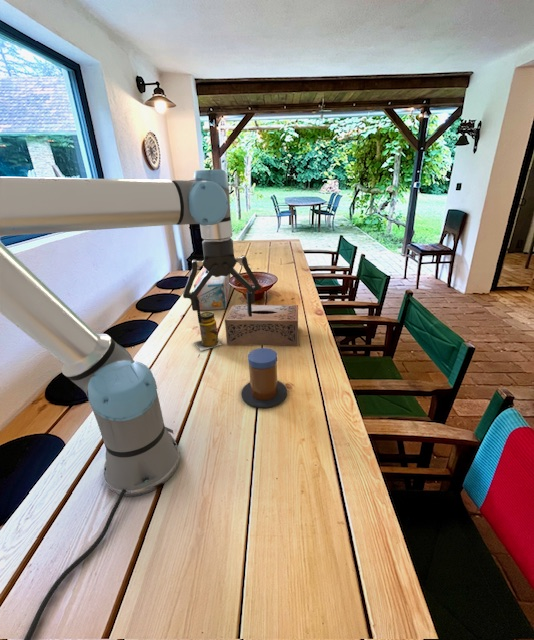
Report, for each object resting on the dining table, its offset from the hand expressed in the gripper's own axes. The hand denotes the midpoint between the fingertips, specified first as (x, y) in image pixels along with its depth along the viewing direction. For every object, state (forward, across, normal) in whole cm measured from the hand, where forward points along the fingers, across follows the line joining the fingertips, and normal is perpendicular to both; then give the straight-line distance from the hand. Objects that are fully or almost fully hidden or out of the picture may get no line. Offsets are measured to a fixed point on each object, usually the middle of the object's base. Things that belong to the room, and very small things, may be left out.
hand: (225, 317), depth 88 cm
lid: (+9, -8, +7) cm, 15 cm away
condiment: (+22, +6, -27) cm, 35 cm away
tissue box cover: (+22, -16, -27) cm, 38 cm away
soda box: (+22, -1, -79) cm, 82 cm away
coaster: (+22, -8, +8) cm, 24 cm away
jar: (+21, -8, +8) cm, 24 cm away
